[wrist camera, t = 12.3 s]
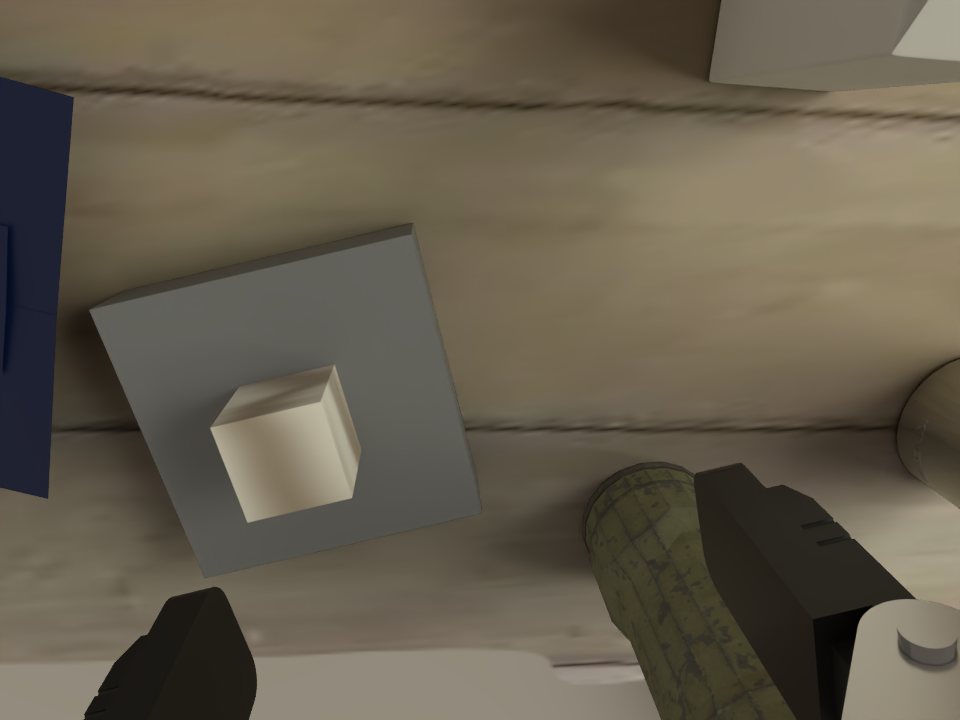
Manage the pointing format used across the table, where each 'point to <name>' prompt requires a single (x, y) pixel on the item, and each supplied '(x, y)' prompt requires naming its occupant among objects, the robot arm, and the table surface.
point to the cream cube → (289, 443)
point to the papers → (30, 275)
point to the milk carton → (837, 43)
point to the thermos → (673, 599)
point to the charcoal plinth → (288, 350)
